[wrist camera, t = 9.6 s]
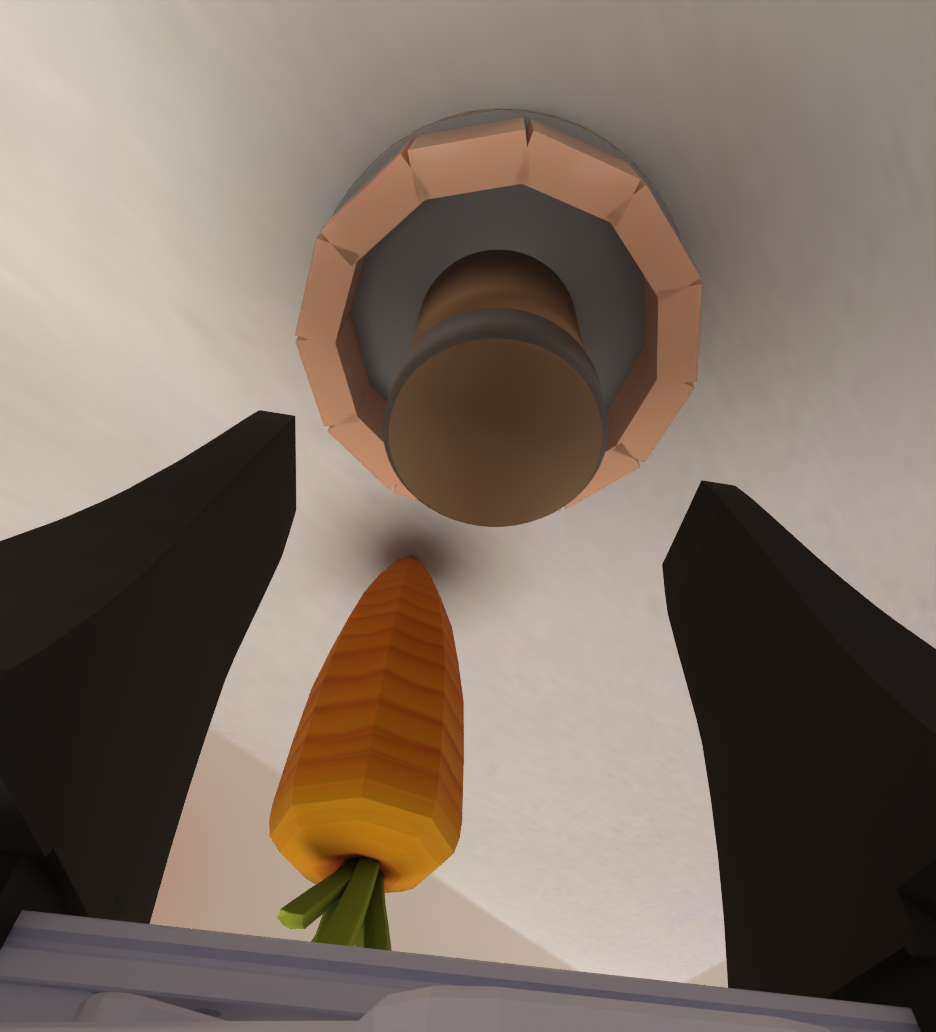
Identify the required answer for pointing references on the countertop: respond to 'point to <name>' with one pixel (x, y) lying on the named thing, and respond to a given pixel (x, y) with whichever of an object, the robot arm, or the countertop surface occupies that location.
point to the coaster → (507, 226)
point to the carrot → (375, 763)
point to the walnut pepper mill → (496, 395)
